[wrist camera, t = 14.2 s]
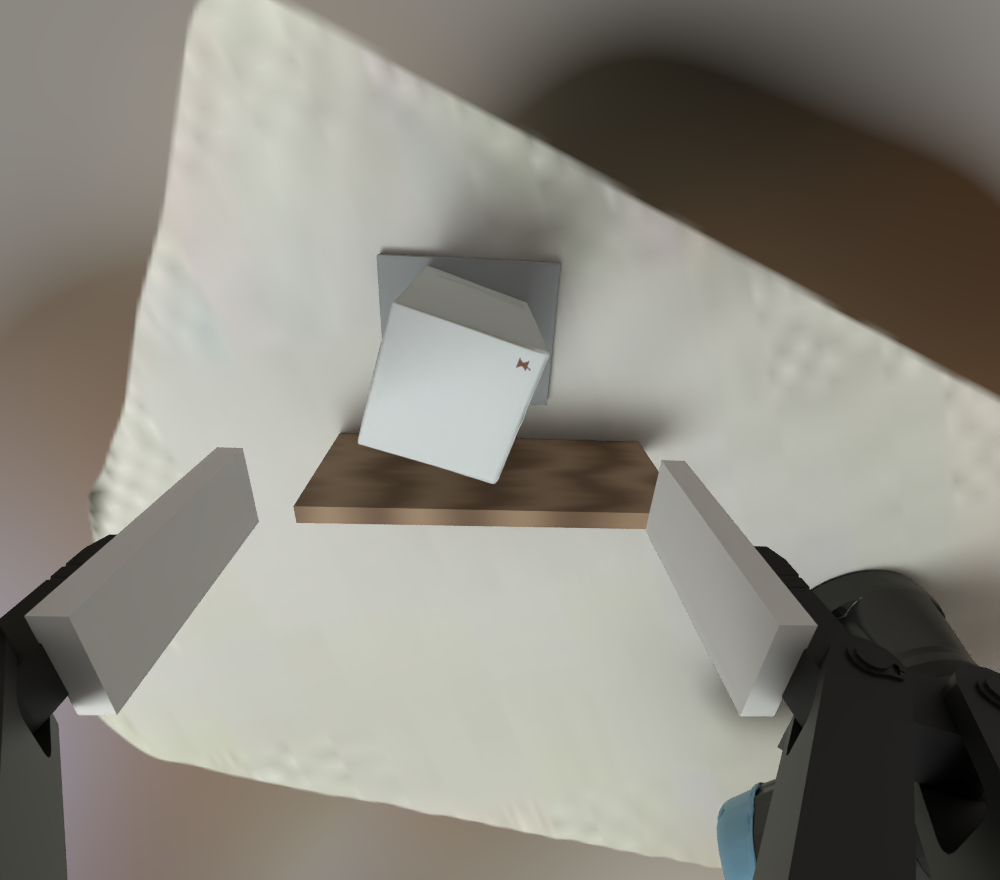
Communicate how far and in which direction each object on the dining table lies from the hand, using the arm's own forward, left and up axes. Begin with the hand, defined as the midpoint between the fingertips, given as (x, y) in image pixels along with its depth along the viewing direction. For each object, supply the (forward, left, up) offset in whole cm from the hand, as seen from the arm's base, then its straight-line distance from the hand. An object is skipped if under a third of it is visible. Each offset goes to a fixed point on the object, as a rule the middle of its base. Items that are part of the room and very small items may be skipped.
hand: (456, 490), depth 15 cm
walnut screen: (-2, +9, -21) cm, 23 cm away
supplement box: (+1, 0, -20) cm, 20 cm away
